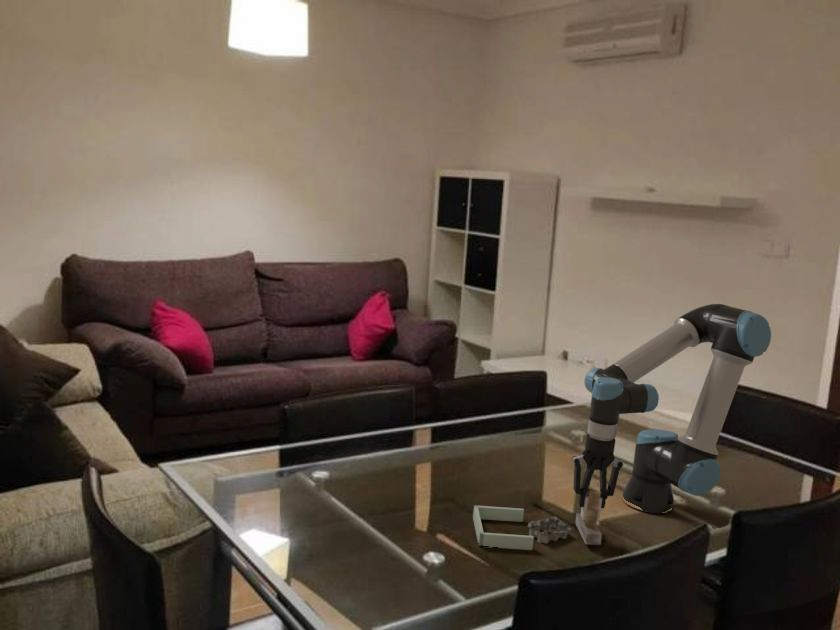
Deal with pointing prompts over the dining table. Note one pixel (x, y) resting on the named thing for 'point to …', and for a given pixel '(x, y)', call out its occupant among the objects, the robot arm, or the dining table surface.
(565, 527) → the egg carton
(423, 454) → the dining table surface
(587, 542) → the scraper
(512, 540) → the box
